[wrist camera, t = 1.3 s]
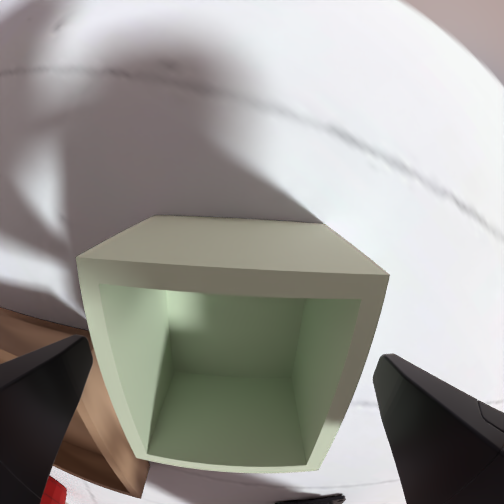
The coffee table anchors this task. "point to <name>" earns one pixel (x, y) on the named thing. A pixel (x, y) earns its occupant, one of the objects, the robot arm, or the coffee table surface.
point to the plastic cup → (53, 492)
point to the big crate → (81, 412)
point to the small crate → (230, 338)
